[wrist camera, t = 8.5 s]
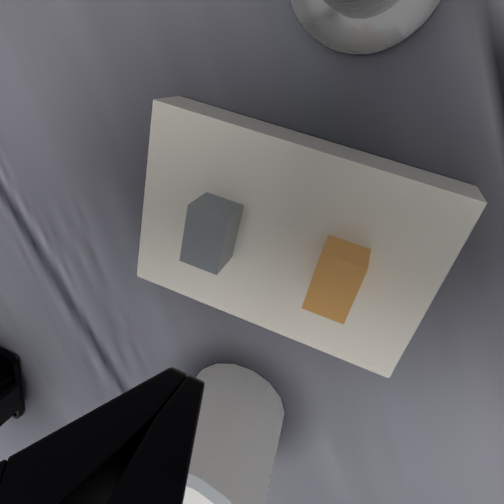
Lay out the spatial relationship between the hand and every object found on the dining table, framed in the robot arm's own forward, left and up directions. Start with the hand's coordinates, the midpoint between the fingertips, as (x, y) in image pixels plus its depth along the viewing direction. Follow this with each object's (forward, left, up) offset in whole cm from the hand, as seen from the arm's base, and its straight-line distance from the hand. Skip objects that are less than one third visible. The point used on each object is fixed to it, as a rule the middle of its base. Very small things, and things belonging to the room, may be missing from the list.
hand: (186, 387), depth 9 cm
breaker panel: (0, 0, -10) cm, 10 cm away
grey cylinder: (0, -12, -10) cm, 15 cm away
